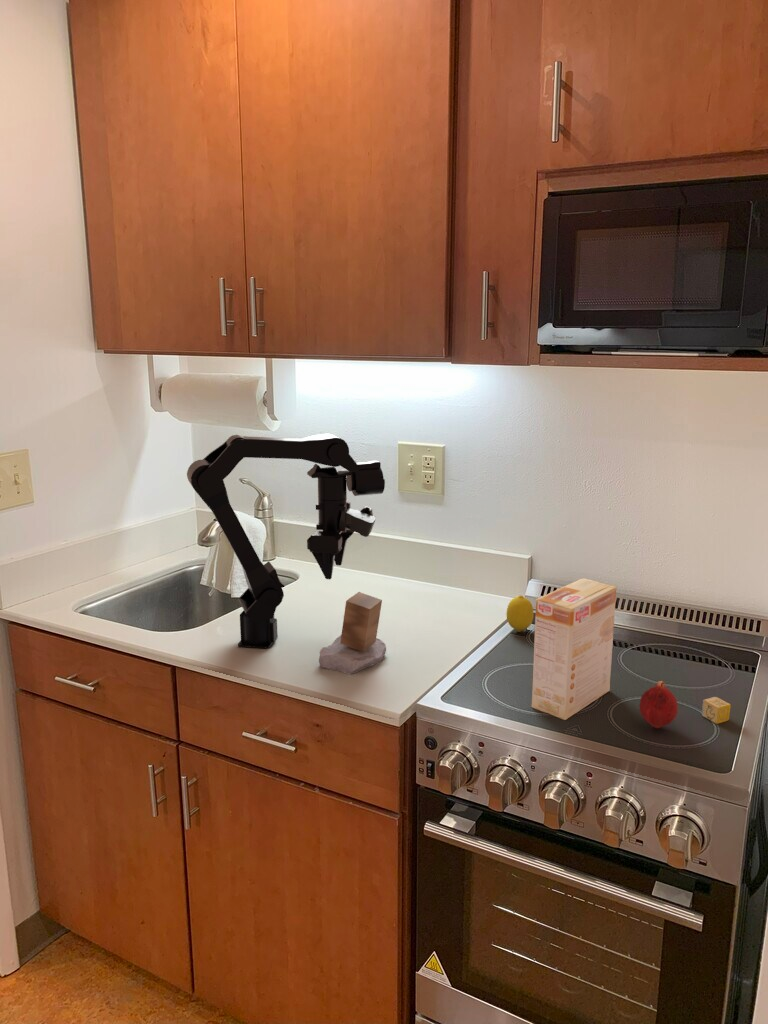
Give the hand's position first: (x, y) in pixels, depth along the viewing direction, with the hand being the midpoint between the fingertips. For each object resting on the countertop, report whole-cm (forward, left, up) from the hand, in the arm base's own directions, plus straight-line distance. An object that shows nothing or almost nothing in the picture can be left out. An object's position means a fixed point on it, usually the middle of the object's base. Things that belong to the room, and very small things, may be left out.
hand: (333, 571), depth 167 cm
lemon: (+38, +6, -13) cm, 41 cm away
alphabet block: (+70, -26, -13) cm, 76 cm away
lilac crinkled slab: (+7, -14, -14) cm, 21 cm away
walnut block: (+8, -14, -9) cm, 18 cm away
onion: (+60, -31, -13) cm, 69 cm away
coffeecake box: (+47, -23, -13) cm, 54 cm away
